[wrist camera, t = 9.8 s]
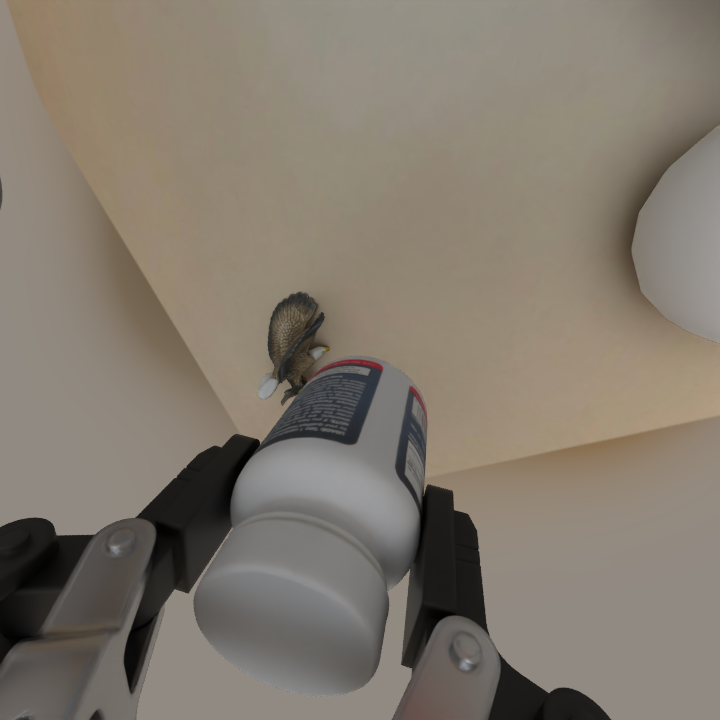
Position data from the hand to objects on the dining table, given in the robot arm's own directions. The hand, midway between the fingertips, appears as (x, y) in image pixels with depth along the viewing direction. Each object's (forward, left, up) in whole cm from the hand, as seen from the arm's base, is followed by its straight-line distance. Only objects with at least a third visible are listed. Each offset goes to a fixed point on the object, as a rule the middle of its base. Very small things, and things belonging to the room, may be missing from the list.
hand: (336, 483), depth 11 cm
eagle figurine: (-9, -5, -22) cm, 24 cm away
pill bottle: (0, 0, -5) cm, 5 cm away
